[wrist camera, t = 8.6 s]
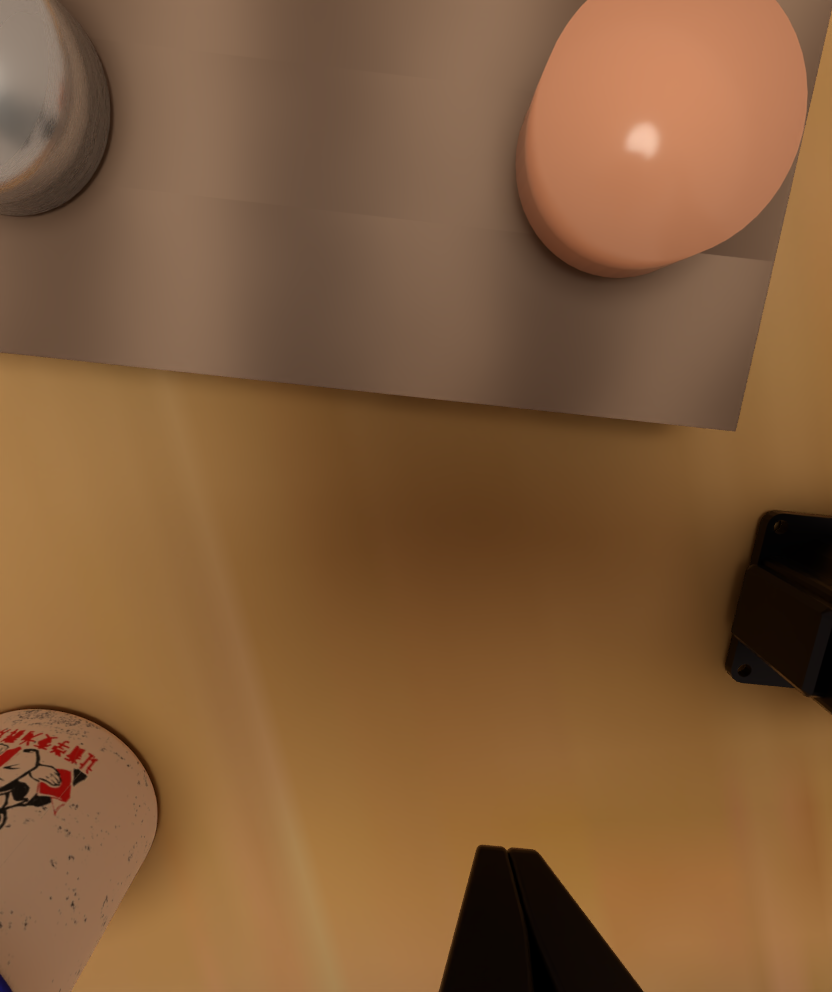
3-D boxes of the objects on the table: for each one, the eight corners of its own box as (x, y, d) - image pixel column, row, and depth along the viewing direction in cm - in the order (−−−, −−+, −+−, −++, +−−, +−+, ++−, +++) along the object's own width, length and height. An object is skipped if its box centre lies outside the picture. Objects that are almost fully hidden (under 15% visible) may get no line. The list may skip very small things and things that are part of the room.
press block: (753, 15, 17) (854, -90, 13) (671, 419, 20) (735, 431, 16) (-62, -85, 16) (-212, -226, 13) (-35, 342, 19) (-152, 335, 15)
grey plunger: (179, 73, 17) (43, -96, 11) (177, 257, 18) (51, 198, 12) (4, 53, 17) (-235, -131, 11) (12, 239, 18) (-200, 170, 12)
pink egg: (681, 122, 17) (838, -25, 10) (647, 306, 18) (770, 272, 12) (506, 101, 17) (559, -61, 10) (482, 288, 18) (518, 243, 11)
